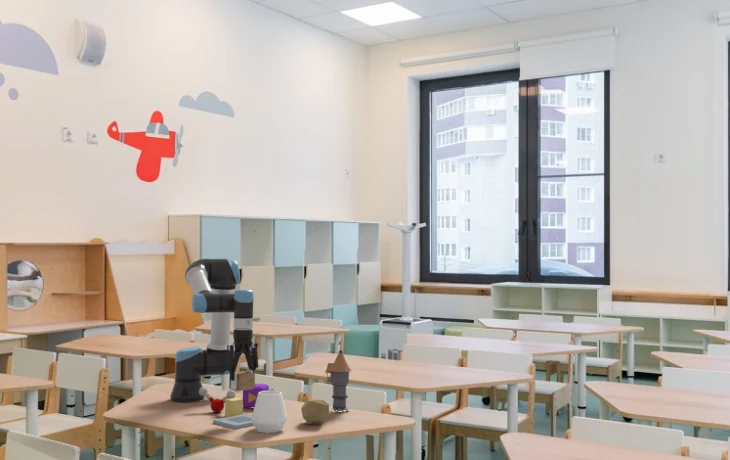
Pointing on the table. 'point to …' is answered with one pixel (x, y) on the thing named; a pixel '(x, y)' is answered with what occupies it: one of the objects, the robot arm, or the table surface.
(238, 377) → the walnut block
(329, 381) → the model tower
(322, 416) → the low-poly potato
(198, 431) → the table surface
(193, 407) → the table surface
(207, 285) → the robot arm
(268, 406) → the white faceted vase
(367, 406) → the table surface
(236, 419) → the plate
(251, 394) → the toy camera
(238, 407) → the mustard block
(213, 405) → the molecular model
